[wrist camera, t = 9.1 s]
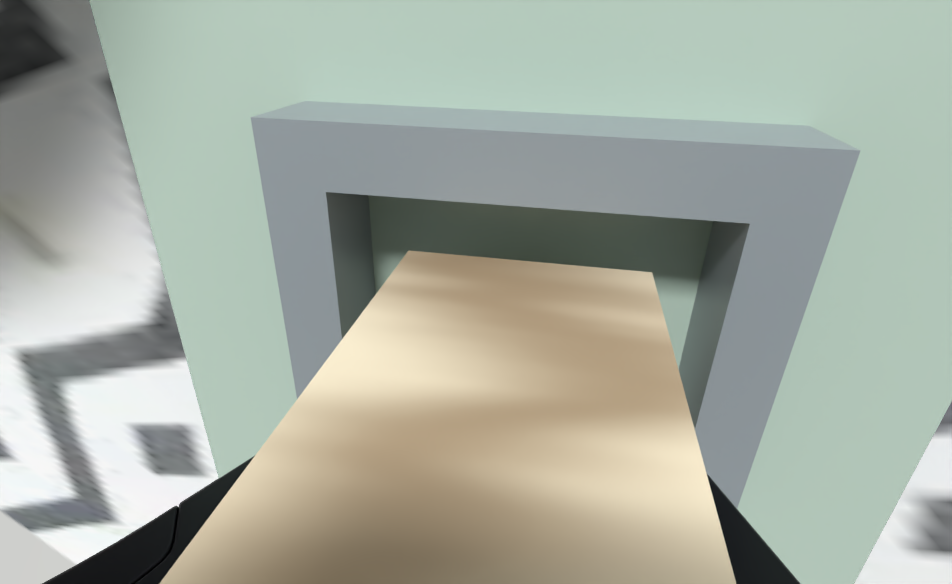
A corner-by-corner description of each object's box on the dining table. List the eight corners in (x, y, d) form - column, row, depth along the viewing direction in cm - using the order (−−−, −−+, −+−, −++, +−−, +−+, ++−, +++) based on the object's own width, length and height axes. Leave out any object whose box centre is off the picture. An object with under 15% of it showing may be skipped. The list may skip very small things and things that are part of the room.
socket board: (1197, -182, 8) (1516, -284, 5) (811, 603, 16) (856, 719, 13) (89, -153, 10) (-81, -212, 8) (250, 509, 19) (195, 590, 16)
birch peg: (652, 272, 10) (839, 963, 3) (617, 460, 12) (668, 1127, 5) (408, 250, 10) (32, 754, 3) (415, 432, 12) (195, 980, 5)
